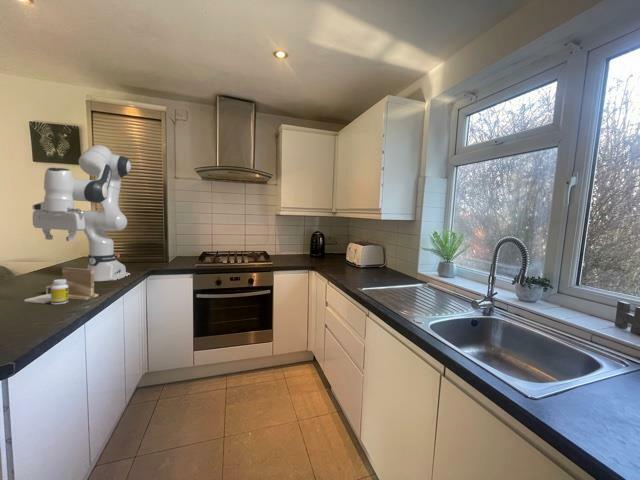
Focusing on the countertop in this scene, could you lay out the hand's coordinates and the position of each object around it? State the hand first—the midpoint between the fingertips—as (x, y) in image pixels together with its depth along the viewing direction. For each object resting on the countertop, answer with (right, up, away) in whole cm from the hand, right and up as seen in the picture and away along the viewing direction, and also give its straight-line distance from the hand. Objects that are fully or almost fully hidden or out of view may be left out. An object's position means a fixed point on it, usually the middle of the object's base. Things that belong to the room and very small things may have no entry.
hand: (59, 240), depth 114 cm
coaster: (-11, -26, +5) cm, 28 cm away
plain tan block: (-15, -25, +13) cm, 32 cm away
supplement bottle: (-2, -27, +2) cm, 27 cm away
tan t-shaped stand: (-2, -26, +11) cm, 28 cm away
